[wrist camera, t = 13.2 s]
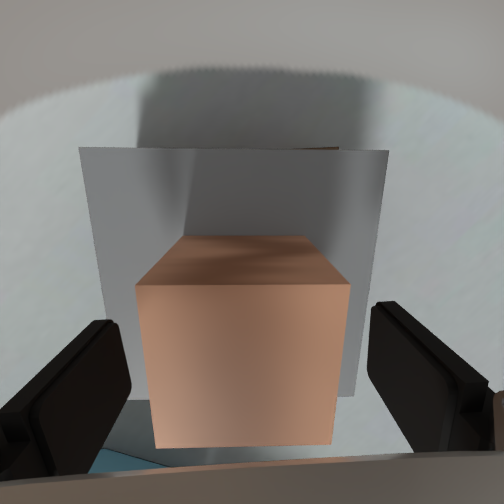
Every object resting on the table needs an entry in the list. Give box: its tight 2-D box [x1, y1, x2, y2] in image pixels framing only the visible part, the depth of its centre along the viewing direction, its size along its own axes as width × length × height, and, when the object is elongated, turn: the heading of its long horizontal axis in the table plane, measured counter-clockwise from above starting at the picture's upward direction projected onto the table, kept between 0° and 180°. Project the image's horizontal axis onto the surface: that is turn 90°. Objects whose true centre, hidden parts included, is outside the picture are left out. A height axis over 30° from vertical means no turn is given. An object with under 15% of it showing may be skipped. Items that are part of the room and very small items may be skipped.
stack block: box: [135, 236, 351, 449], centre depth 11 cm, size 6×6×6 cm
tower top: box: [79, 147, 389, 400], centre depth 16 cm, size 14×14×4 cm
